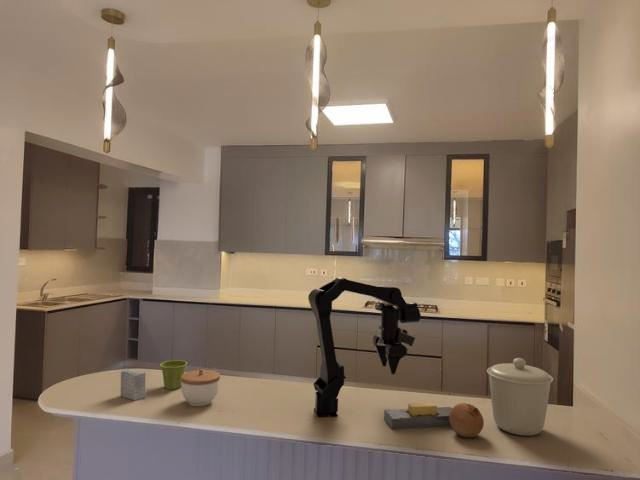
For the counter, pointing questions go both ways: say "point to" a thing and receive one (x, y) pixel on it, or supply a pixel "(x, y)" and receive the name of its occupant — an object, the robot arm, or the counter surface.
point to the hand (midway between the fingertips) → (388, 370)
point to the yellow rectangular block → (422, 409)
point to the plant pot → (173, 373)
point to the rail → (416, 418)
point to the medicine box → (133, 384)
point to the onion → (466, 420)
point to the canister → (519, 397)
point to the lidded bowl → (200, 386)
